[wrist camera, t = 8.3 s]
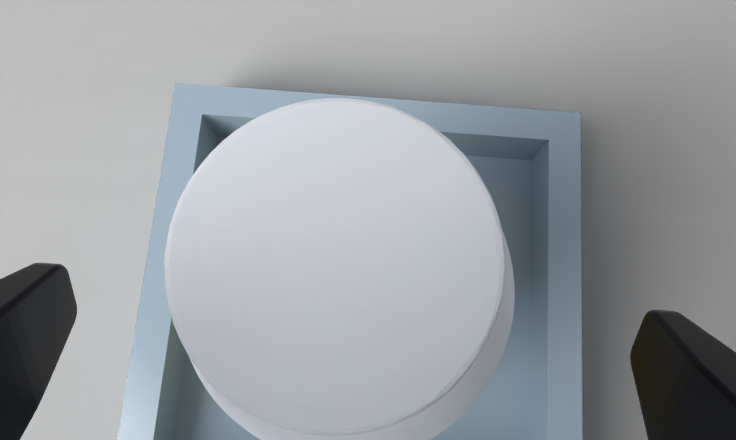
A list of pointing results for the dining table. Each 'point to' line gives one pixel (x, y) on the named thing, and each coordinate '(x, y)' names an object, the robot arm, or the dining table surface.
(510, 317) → the pill bottle
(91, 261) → the dining table surface
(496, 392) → the dish
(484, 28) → the dining table surface
